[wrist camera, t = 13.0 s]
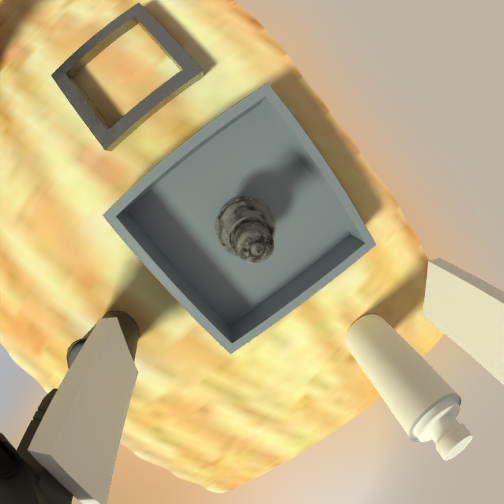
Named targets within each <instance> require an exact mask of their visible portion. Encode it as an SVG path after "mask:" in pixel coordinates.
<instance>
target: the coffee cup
mask: <svg viewBox="0 0 504 504" xmlns="http://www.w3.org/2000/svg"><path fill="white" fill-rule="evenodd" d="M112 317H117V319H118V322H119V325H120V327H121V330H122V333H123V336H124V338H125V341H126V344H127V346H128V349H129V351H130V354H131V356H132V359H133V361H134V360H135V354H136V348H137V342H138V336H139V329H138V326H137V324H136V322H135V321H134V319H133V318H131V317H130V316H129V315H128V314H126V313H124V312H120V311H111V312H109V313H107V314H105V315H104V316H103V317H102V318H101V319H103V318H112ZM95 326H96V325H95ZM95 326H94V327H95ZM94 327H93V328H92V329H91V330H90V331H89V332H88V333H87V334H86V335H85V336H84V337H83V338H82V339H79V340H77V341H75V342H73V343H72V344H71V346H70V347H69V348H68V352H67V363H68V368H69V369H70V367H71V365H72V363H73V362H74V360H75V358H76V357H77V355H78V353H79V352H80V350H81V348H82V347H83V345H84V343H85V342H86V340H87V339H88V337H89V335H90V334H91V332H92V331H93V329H94Z"/></svg>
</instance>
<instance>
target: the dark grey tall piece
mask: <svg viewBox="0 0 504 504" xmlns="http://www.w3.org/2000/svg"><path fill="white" fill-rule="evenodd" d="M215 230H216V236H217V239H218V241H219V243H220V244H221V246H222V247H223V248H224V249H225V250H226V251H228V252H229V253H231V254H233V255H235V256H240V258H241V259H242V260H244V261H245V262H248V263H251V264H259V263H262V262H264V261H266V260H267V259H268V258H269V257H270V256H271V255H272V253H273V250H274V240H273V239H274V236H275V232H276V220H275V217H274V214H273V212H272V211H271V209H270V208H269V207H268V206H267V205H266V204H265V203H264V202H262V201H260V200H258V199H256V198H251V197H245V196H243V197H236V198H233V199H231V200H229V201H228V202H226V203H225V205H224V206H223V207H222V208H221V210H220V212H219V214H218V216H217V219H216V224H215Z"/></svg>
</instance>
